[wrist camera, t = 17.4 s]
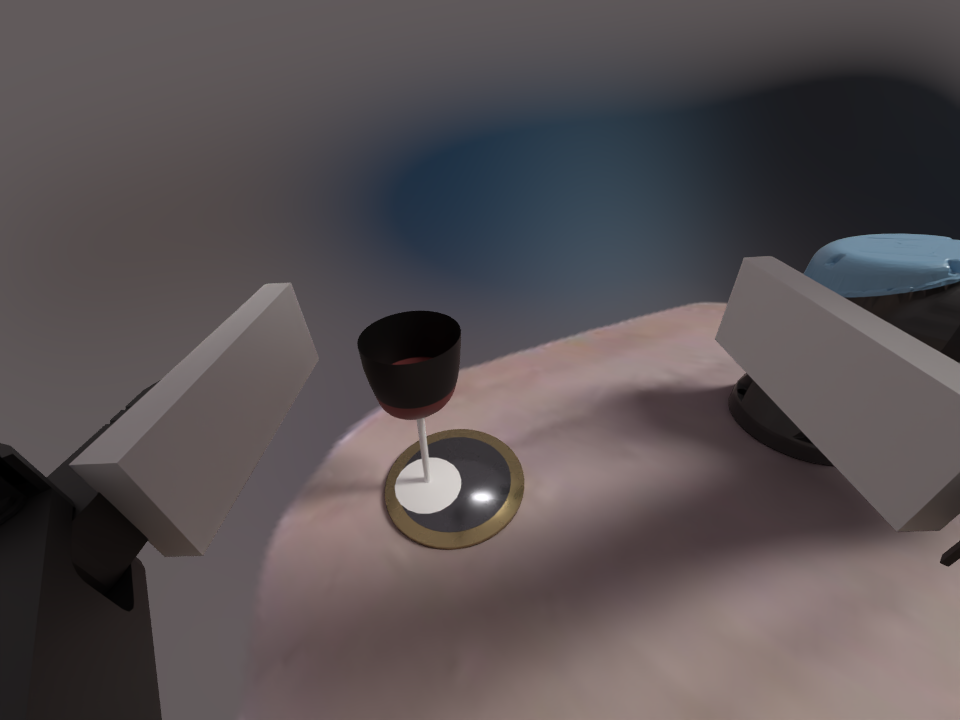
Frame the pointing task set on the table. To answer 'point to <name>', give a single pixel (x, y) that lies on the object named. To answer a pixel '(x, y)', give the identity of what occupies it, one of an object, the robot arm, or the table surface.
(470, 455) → the coaster
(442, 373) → the wineglass
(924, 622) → the table surface
